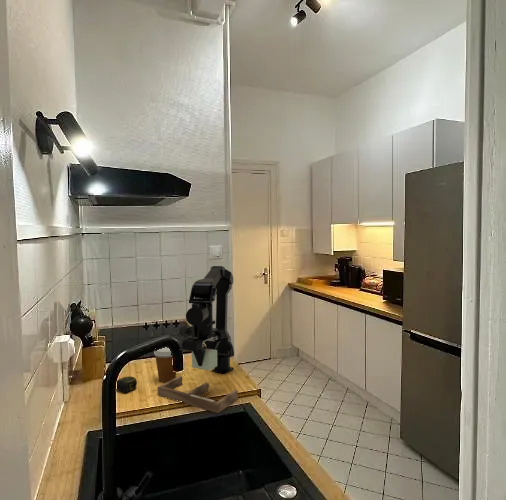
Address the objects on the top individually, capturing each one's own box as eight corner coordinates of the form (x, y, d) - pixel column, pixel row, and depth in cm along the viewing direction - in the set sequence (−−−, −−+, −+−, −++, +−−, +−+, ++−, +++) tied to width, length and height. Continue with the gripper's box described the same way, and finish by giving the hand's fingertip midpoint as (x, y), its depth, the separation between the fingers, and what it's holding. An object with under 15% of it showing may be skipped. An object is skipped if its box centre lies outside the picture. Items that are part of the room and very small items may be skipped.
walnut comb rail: (179, 383, 138) (179, 375, 138) (237, 399, 125) (237, 390, 125) (157, 395, 128) (157, 386, 128) (218, 413, 115) (217, 403, 115)
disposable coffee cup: (173, 385, 137) (173, 352, 136) (150, 383, 139) (149, 351, 138) (183, 375, 146) (183, 345, 145) (161, 373, 148) (160, 343, 147)
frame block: (200, 362, 131) (200, 347, 131) (217, 366, 128) (217, 349, 128) (191, 367, 127) (191, 351, 126) (209, 370, 123) (208, 354, 123)
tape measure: (112, 390, 132) (112, 380, 132) (128, 384, 138) (128, 374, 138) (125, 395, 129) (124, 384, 128) (140, 388, 134) (140, 378, 134)
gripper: (201, 311, 138) (201, 352, 139) (167, 321, 122) (168, 368, 123) (226, 314, 133) (226, 357, 134) (195, 325, 117) (195, 374, 117)
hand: (204, 363), depth 127 cm, fingers closed on frame block, 5 cm apart
